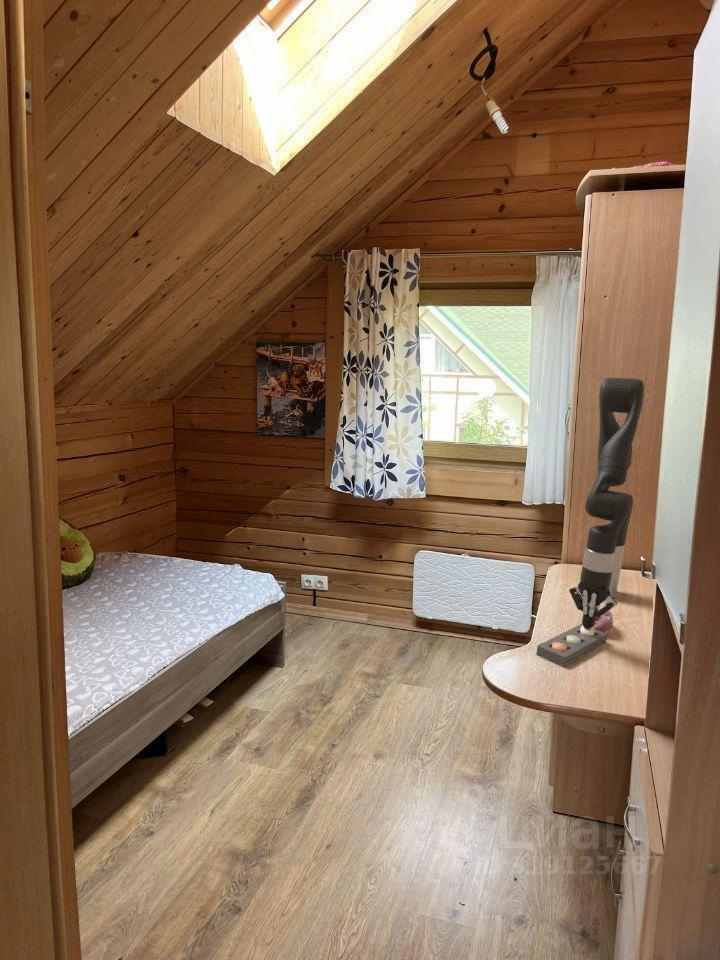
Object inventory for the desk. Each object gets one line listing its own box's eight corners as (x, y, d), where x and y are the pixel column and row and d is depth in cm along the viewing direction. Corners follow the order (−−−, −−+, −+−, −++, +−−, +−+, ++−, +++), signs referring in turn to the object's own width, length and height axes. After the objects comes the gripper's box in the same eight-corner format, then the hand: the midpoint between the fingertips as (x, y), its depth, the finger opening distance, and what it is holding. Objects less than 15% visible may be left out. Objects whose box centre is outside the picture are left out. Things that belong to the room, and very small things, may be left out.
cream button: (583, 632, 185) (585, 624, 184) (596, 637, 182) (597, 629, 182) (576, 636, 182) (578, 627, 182) (589, 641, 180) (590, 632, 179)
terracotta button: (555, 649, 175) (557, 640, 175) (568, 654, 173) (569, 646, 172) (548, 653, 173) (549, 644, 172) (560, 658, 171) (562, 650, 170)
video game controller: (603, 642, 186) (618, 623, 184) (588, 633, 186) (604, 613, 185) (597, 627, 196) (612, 608, 194) (584, 618, 196) (598, 599, 194)
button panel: (580, 632, 188) (581, 623, 187) (606, 642, 183) (607, 634, 182) (536, 654, 173) (537, 645, 172) (563, 666, 168) (564, 657, 167)
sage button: (569, 642, 180) (571, 633, 180) (582, 647, 178) (583, 639, 177) (562, 645, 178) (564, 637, 177) (575, 651, 175) (576, 642, 175)
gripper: (567, 561, 180) (558, 622, 184) (614, 576, 171) (603, 640, 174) (581, 556, 185) (572, 615, 189) (628, 571, 176) (617, 633, 179)
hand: (587, 627), depth 182 cm, fingers closed
